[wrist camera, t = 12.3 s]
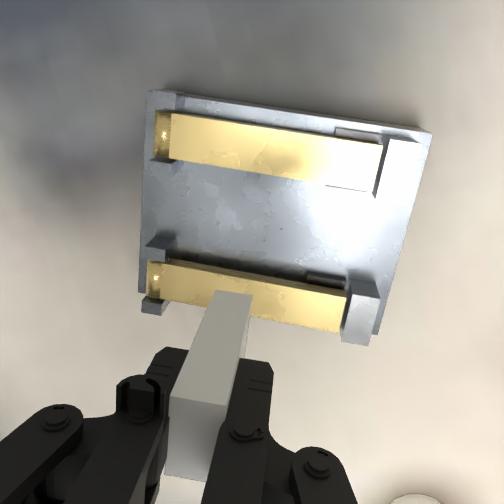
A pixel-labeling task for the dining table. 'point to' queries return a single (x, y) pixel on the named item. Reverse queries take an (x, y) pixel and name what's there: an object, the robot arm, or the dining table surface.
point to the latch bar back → (261, 287)
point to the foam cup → (415, 499)
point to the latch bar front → (266, 149)
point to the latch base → (283, 210)
